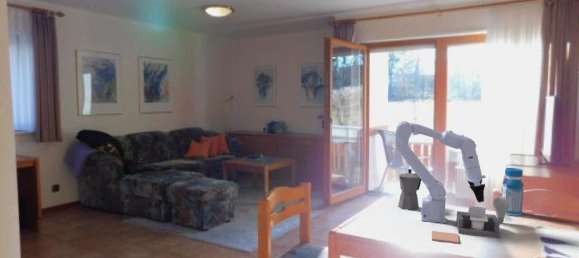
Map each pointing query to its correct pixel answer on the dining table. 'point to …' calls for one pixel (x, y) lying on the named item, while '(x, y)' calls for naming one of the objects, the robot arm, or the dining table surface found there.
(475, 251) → the dining table surface
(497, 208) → the lightbulb
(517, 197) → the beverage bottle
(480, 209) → the clip
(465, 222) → the socket block
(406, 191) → the coffeepot
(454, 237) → the mat
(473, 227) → the plug
